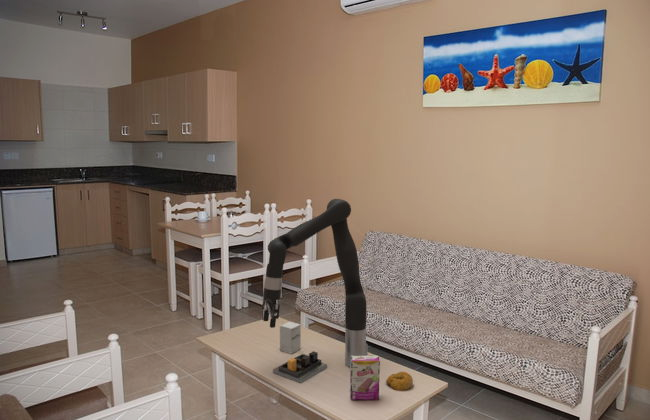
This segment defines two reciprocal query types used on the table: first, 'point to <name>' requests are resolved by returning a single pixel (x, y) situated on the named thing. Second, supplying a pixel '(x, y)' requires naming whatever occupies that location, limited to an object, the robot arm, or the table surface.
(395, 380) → the bagel
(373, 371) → the candy bar box
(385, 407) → the table surface
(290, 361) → the block
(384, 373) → the table surface
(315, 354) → the panel
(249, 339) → the table surface
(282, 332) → the supplement box
